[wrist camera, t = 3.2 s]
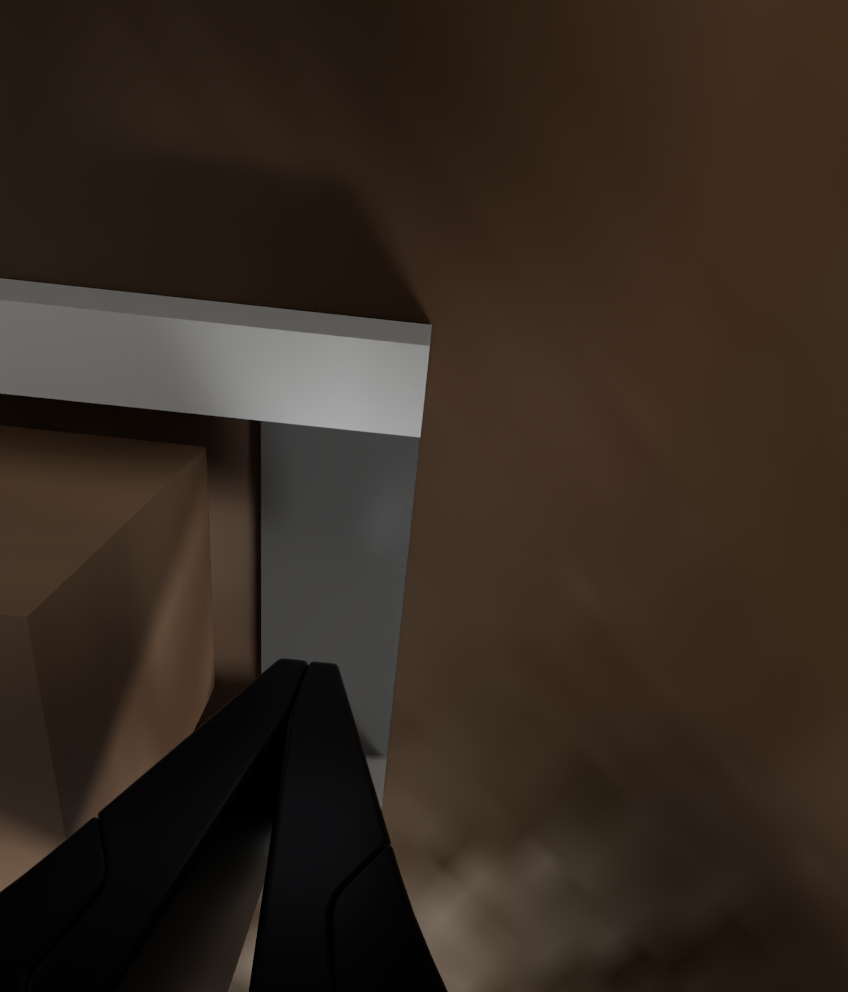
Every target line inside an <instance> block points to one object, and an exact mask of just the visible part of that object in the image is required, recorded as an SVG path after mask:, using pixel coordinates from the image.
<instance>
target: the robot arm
mask: <svg viewBox="0 0 848 992" xmlns="http://www.w3.org/2000/svg"><path fill="white" fill-rule="evenodd" d="M263 885H264V888H263ZM262 888H263V895H262V902H261V909H260V916H259V924H258V931H257V938H256V945H255V952H254V959H253V966H252V973H251V980H250V987H249V992H448V991H447V989H446V987H445V985H444V982H443V980H442V978H441V976H440V974H439V971H438V969H437V967H436V965H435V963H434V960H433V958H432V956H431V953H430V951H429V949H428V946H427V944H426V941H425V939H424V937H423V934H422V932H421V929H420V927H419V924H418V922H417V920H416V917H415V915H414V912H413V909H412V906H411V903H410V900H409V897H408V894H407V891H406V888H405V885H404V883H403V880H402V877H401V874H400V870H399V867H398V864H397V860H396V857H395V854H394V850H393V848H392V847H391V841H390V838H389V834H388V831H387V828H386V824H385V821H384V818H383V814H382V811H381V808H380V804H379V801H378V797H377V794H376V791H375V787H374V784H373V781H372V777H371V774H370V770H369V767H368V764H367V760H366V757H365V754H364V750H363V747H362V744H361V740H360V737H359V733H358V730H357V727H356V723H355V720H354V717H353V713H352V710H351V706H350V703H349V700H348V696H347V693H346V690H345V686H344V683H343V679H342V676H341V673H340V669H339V667H338V665H337V664H334V663H326V662H316V661H313V662H311V663H310V664H309V665H308V663H307V662H306V661H305V660H297V659H287V658H281V659H279V660H277V661H276V662H275V663H273V664H272V665H271V666H270V667H269V668H268V669H266V670H265V671H264V672H263V673H262V674H261V675H259V676H258V677H257V678H256V679H255V680H254V681H252V682H251V683H250V684H249V685H248V686H246V687H245V688H244V689H243V690H242V691H241V692H239V693H238V694H237V695H236V696H235V697H234V698H232V699H231V700H230V701H229V702H228V703H227V704H225V705H224V706H223V707H222V708H221V709H219V710H218V711H217V712H216V713H215V714H214V715H212V716H211V717H210V718H209V719H208V720H207V721H205V722H204V723H203V724H202V725H201V726H200V727H198V728H197V729H196V730H195V731H194V732H192V733H191V734H190V735H189V736H188V737H187V738H185V739H184V740H183V741H182V742H181V743H180V744H178V745H177V746H176V747H175V748H174V749H173V750H171V751H170V752H169V753H168V754H167V755H165V756H164V757H163V758H162V759H161V760H160V761H158V762H157V763H156V764H155V765H154V766H153V767H151V768H150V769H149V770H148V771H147V772H146V773H144V774H143V775H142V776H141V777H140V778H138V779H137V780H136V781H135V782H134V783H133V784H131V785H130V786H129V787H128V788H127V789H126V790H124V791H123V792H122V793H121V794H120V795H119V796H117V797H116V798H115V799H114V800H113V801H111V802H110V803H109V804H108V805H107V806H106V807H104V808H103V809H102V810H101V811H100V812H99V813H98V818H96V817H93V818H91V819H90V820H89V821H88V822H86V823H85V824H84V825H83V826H82V827H81V828H79V829H78V830H77V831H76V832H75V833H74V834H72V835H71V836H70V837H69V838H68V839H66V840H65V841H64V842H63V843H62V844H60V845H59V846H58V847H57V848H55V849H54V850H53V851H52V852H50V853H49V854H48V855H47V856H46V857H44V858H43V859H42V860H41V861H39V862H38V863H37V864H36V865H34V866H33V867H32V868H31V869H30V870H28V871H27V872H26V873H25V874H23V875H22V876H21V877H19V878H18V879H17V880H15V881H14V882H13V883H11V884H10V885H9V886H7V887H6V888H5V889H3V890H2V891H1V892H0V992H228V989H229V987H230V984H231V981H232V978H233V975H234V972H235V969H236V966H237V963H238V960H239V957H240V954H241V951H242V948H243V945H244V942H245V939H246V936H247V933H248V930H249V927H250V924H251V921H252V918H253V915H254V912H255V909H256V906H257V903H258V900H259V897H260V894H261V891H262Z"/></svg>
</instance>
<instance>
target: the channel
mask: <svg viewBox="0 0 848 992" xmlns="http://www.w3.org/2000/svg"><path fill="white" fill-rule="evenodd" d="M431 328H432V325H428V324H419V323H410V322H401V321H391V320H382V319H373V318H364V317H354V316H345V315H336V314H327V313H317V312H308V311H299V310H290V309H280V308H271V307H262V306H253V305H243V304H234V303H225V302H216V301H206V300H197V299H188V298H179V297H169V296H160V295H151V294H141V293H132V292H123V291H114V290H104V289H95V288H86V287H77V286H67V285H58V284H49V283H40V282H30V281H21V280H12V279H3V278H0V393H1V394H11V395H20V396H30V397H39V398H49V399H58V400H68V401H77V402H87V403H96V404H106V405H115V406H125V407H134V408H144V409H153V410H163V411H173V412H182V413H192V414H201V415H211V416H220V417H230V418H239V419H249V420H258V421H261V674H262V673H263V672H264V671H265V670H266V669H268V668H269V667H270V666H271V665H272V664H273V663H275V662H276V661H277V660H279V659H281V658H287V659H297V660H305V661H306V662H307V663H308V665H309V664H310V663H311V662H313V661H316V662H326V663H334V664H337V665H338V667H339V669H340V673H341V676H342V679H343V683H344V686H345V690H346V693H347V696H348V700H349V703H350V706H351V710H352V713H353V717H354V720H355V723H356V727H357V730H358V733H359V737H360V740H361V744H362V747H363V750H364V754H365V757H366V760H367V764H368V767H369V770H370V774H371V777H372V781H373V784H374V787H375V791H376V794H377V797H378V801H379V804H380V808H381V810H382V800H383V791H384V781H385V771H386V761H387V752H388V742H389V732H390V723H391V713H392V704H393V694H394V684H395V675H396V665H397V655H398V646H399V636H400V627H401V617H402V607H403V598H404V588H405V578H406V569H407V559H408V550H409V540H410V530H411V521H412V511H413V501H414V492H415V482H416V473H417V463H418V453H419V444H420V435H421V426H422V416H423V407H424V397H425V387H426V378H427V368H428V359H429V349H430V339H431ZM193 732H194V731H193Z"/></svg>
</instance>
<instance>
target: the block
mask: <svg viewBox="0 0 848 992" xmlns="http://www.w3.org/2000/svg"><path fill="white" fill-rule="evenodd" d="M214 688H215V671H214V644H213V617H212V590H211V563H210V536H209V509H208V482H207V455H206V447H203V446H193V445H184V444H174V443H165V442H155V441H145V440H136V439H126V438H117V437H107V436H98V435H88V434H79V433H69V432H59V431H50V430H40V429H31V428H21V427H12V426H2V425H0V892H1V891H2V890H3V889H5V888H6V887H7V886H9V885H10V884H11V883H13V882H14V881H15V880H17V879H18V878H19V877H21V876H22V875H23V874H25V873H26V872H27V871H28V870H30V869H31V868H32V867H33V866H34V865H36V864H37V863H38V862H39V861H41V860H42V859H43V858H44V857H46V856H47V855H48V854H49V853H50V852H52V851H53V850H54V849H55V848H57V847H58V846H59V845H60V844H62V843H63V842H64V841H65V840H66V839H68V838H69V837H70V836H71V835H72V834H74V833H75V832H76V831H77V830H78V829H79V828H81V827H82V826H83V825H84V824H85V823H86V822H88V821H89V820H90V819H91V818H93V817H96V818H98V813H99V812H100V811H101V810H102V809H103V808H104V807H106V806H107V805H108V804H109V803H110V802H111V801H113V800H114V799H115V798H116V797H117V796H119V795H120V794H121V793H122V792H123V791H124V790H126V789H127V788H128V787H129V786H130V785H131V784H133V783H134V782H135V781H136V780H137V779H138V778H140V777H141V776H142V775H143V774H144V773H146V772H147V771H148V770H149V769H150V768H151V767H153V766H154V765H155V764H156V763H157V762H158V761H160V760H161V759H162V758H163V757H164V756H165V755H167V754H168V753H169V752H170V751H171V750H173V749H174V748H175V747H176V746H177V745H178V744H180V743H181V742H182V741H183V740H184V739H185V738H187V737H188V736H189V735H190V734H191V733H192V732H193V731H194V729H195V727H196V725H197V723H198V721H199V719H200V717H201V715H202V713H203V711H204V709H205V707H206V704H207V702H208V700H209V698H210V696H211V694H212V692H213V690H214Z"/></svg>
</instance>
